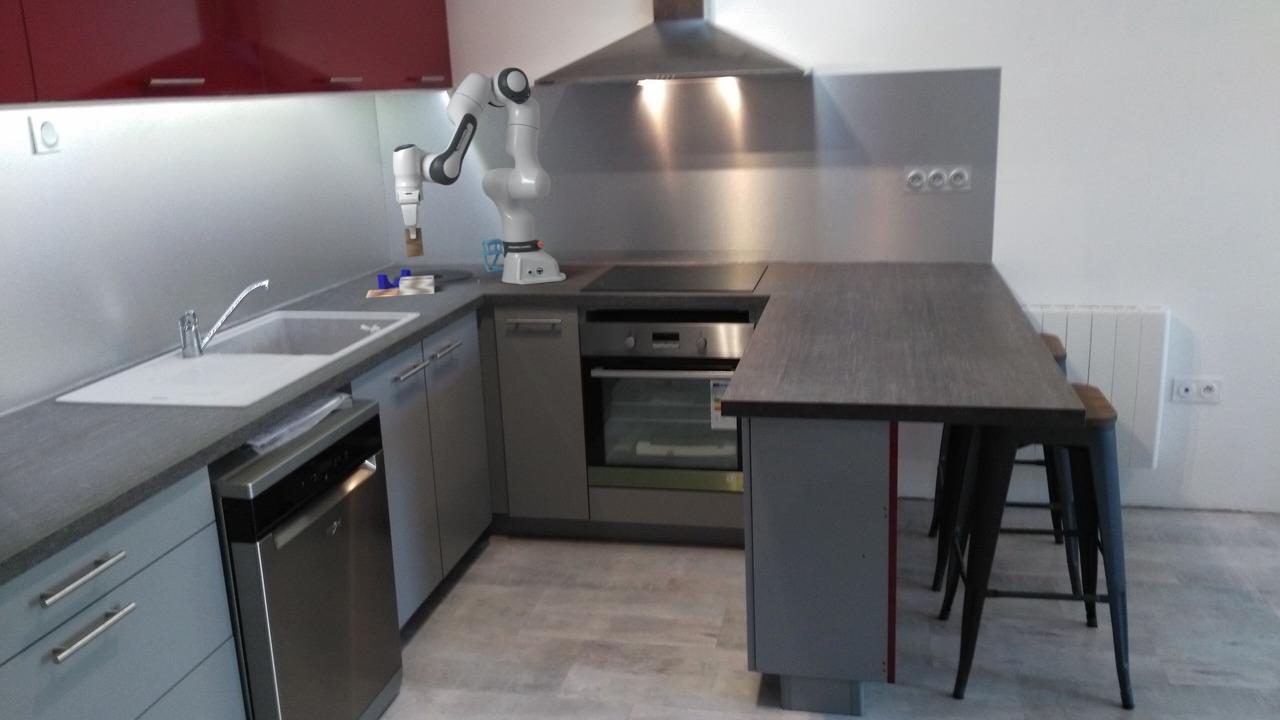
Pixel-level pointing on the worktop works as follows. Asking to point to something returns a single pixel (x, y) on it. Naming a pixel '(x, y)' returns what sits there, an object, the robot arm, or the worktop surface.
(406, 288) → the board
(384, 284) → the cable clip
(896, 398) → the worktop surface
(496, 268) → the chair
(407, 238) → the plug
